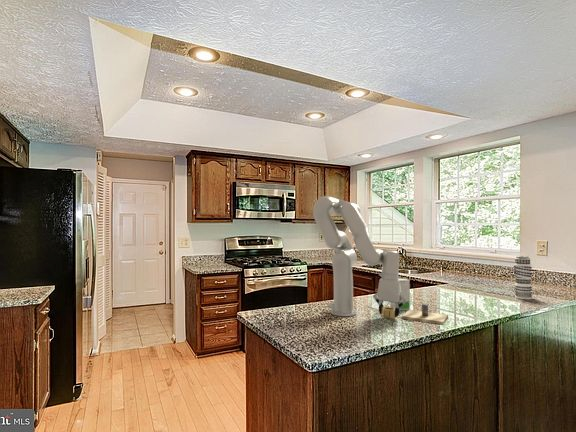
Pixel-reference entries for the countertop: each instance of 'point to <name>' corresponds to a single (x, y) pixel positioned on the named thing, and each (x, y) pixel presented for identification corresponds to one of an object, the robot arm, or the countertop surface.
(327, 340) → the countertop surface
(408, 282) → the skincare box
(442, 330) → the countertop surface
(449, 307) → the countertop surface
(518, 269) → the decorative candle
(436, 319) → the beige flat block
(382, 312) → the ring
